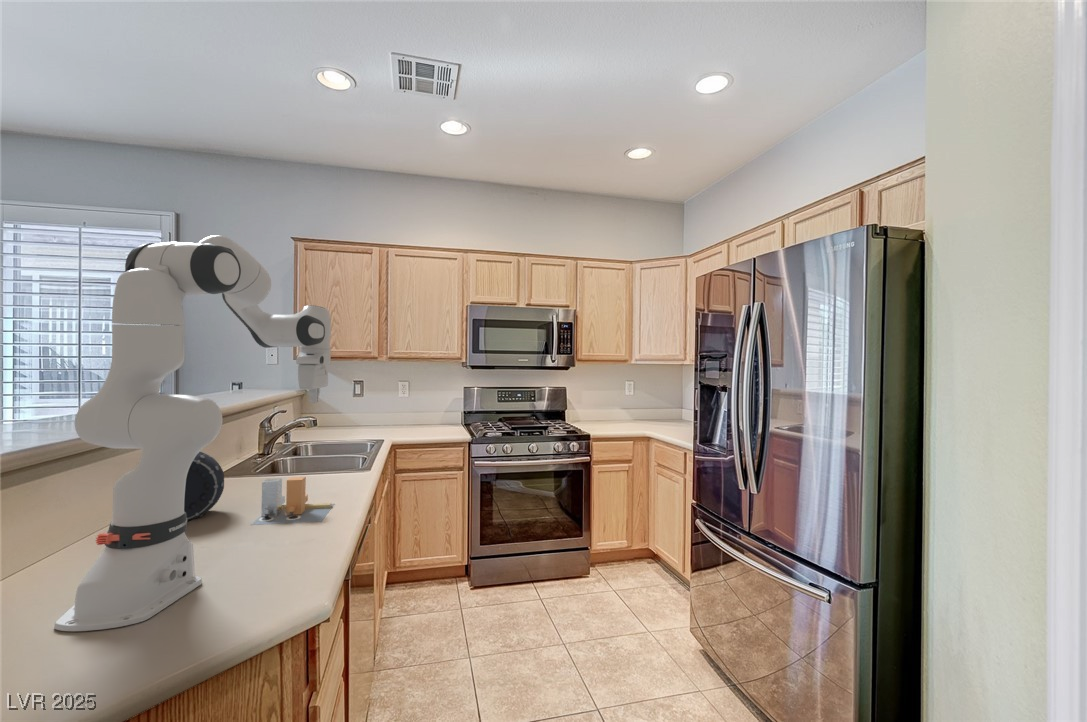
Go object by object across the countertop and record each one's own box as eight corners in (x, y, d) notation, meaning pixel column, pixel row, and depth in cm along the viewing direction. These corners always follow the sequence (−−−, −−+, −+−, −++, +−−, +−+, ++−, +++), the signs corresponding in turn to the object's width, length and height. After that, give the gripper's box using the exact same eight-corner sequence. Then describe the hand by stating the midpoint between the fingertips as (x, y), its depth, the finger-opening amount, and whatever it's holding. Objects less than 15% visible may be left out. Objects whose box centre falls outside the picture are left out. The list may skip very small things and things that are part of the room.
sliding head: (298, 517, 135) (299, 482, 135) (283, 518, 134) (283, 482, 134) (309, 505, 146) (310, 472, 146) (295, 505, 145) (295, 473, 145)
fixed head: (273, 519, 134) (274, 484, 134) (257, 520, 133) (258, 484, 133) (286, 507, 145) (287, 474, 145) (272, 507, 144) (272, 475, 144)
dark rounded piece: (221, 521, 135) (223, 451, 135) (130, 532, 125) (132, 456, 125) (225, 510, 144) (226, 445, 144) (140, 520, 134) (142, 450, 135)
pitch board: (321, 525, 133) (321, 517, 133) (250, 529, 129) (250, 521, 129) (334, 507, 149) (335, 500, 149) (272, 510, 146) (272, 503, 146)
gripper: (313, 358, 157) (312, 400, 157) (294, 358, 137) (293, 405, 137) (333, 359, 159) (332, 400, 159) (317, 358, 139) (316, 405, 139)
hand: (314, 402), depth 148 cm, fingers closed
